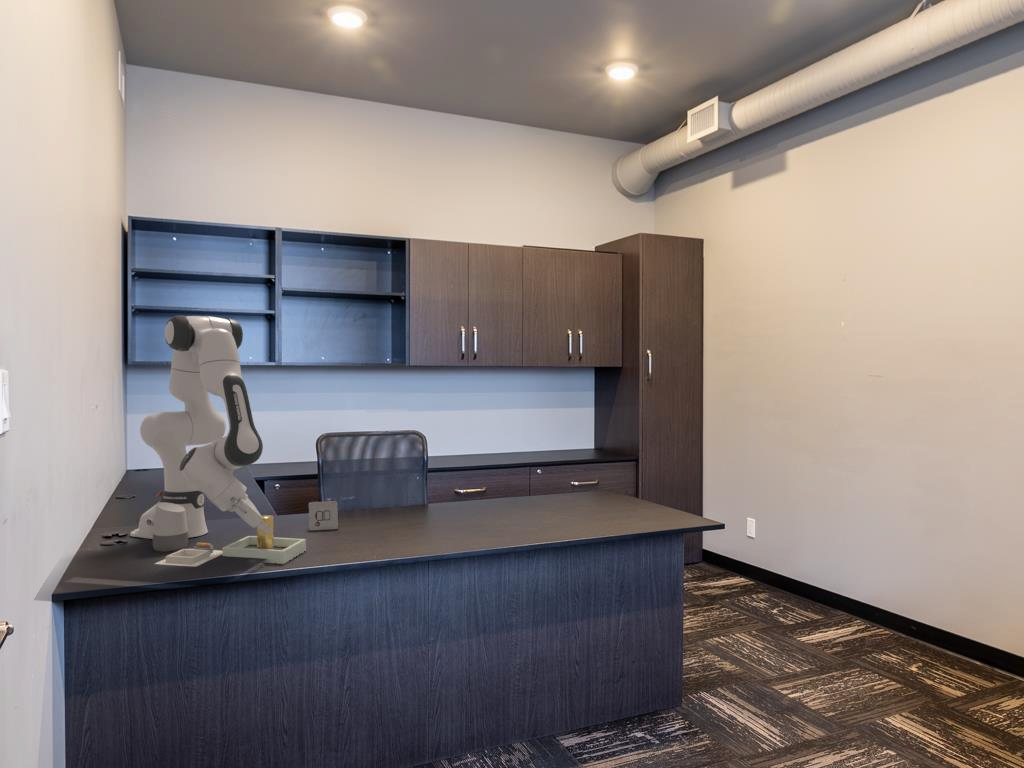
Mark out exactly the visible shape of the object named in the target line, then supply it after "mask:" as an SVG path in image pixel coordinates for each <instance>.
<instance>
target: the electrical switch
mask: <svg viewBox="0 0 1024 768" xmlns="http://www.w3.org/2000/svg"><path fill="white" fill-rule="evenodd" d="M338 513H339V511H338V501H336V500H334V501H330V500H329V501H312V502H309V503H308V530H309V531H310V532H313V531H315V532H316V531H330V530H332V531H333V530H337V529H338V527H339V518H338V517H339V515H338ZM317 524H318V525H317Z"/></svg>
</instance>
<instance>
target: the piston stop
mask: <svg viewBox="0 0 1024 768" xmlns="http://www.w3.org/2000/svg"><path fill="white" fill-rule="evenodd" d="M261 516H262V517H263V521H264V522H265V523H266V524H267V525H268V526H269V527H270V528H271V531H270V532H269V533H268V534H267V533H265V532H264V531H263V530H261V529H260V528H258V527H256V536H257V545H256V549H271V550H274V546H273V537H274V516H273V515H270V514H269V515H266V514H265V515H261Z"/></svg>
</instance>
